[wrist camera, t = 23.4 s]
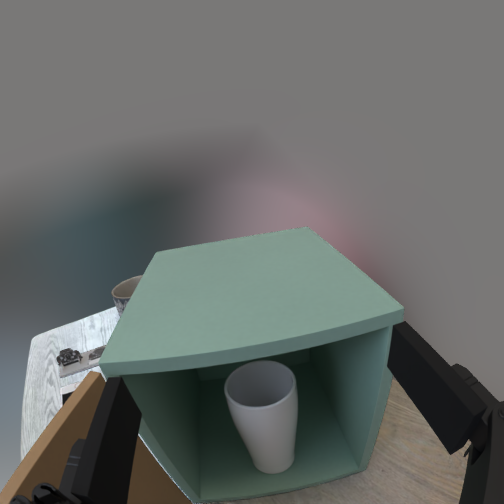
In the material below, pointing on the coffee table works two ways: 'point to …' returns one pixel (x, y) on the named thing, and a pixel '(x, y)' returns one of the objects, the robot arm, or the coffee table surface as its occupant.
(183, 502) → the fridge door
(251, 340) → the box
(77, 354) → the car cutout
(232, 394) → the drinking glass
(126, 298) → the planter
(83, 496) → the robot arm
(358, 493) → the coffee table surface
